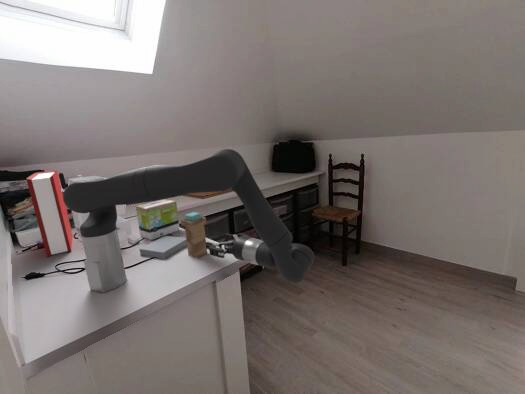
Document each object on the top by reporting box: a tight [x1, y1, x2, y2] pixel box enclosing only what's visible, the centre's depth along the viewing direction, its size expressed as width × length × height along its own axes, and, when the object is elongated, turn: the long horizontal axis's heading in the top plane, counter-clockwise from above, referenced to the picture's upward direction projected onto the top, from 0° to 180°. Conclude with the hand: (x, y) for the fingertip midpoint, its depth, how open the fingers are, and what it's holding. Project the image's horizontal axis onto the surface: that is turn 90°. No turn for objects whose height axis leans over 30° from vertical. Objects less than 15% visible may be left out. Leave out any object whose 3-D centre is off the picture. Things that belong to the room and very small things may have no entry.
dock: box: [139, 235, 187, 260], centre depth 108 cm, size 14×12×2 cm
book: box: [25, 170, 73, 258], centre depth 118 cm, size 27×8×32 cm, turn 34°
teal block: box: [184, 211, 202, 222], centre depth 99 cm, size 4×4×3 cm
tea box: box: [135, 199, 181, 241], centre depth 126 cm, size 15×10×15 cm
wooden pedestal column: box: [180, 216, 208, 259], centre depth 101 cm, size 6×6×14 cm
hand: (216, 240), depth 93 cm, fingers open, 8 cm apart
